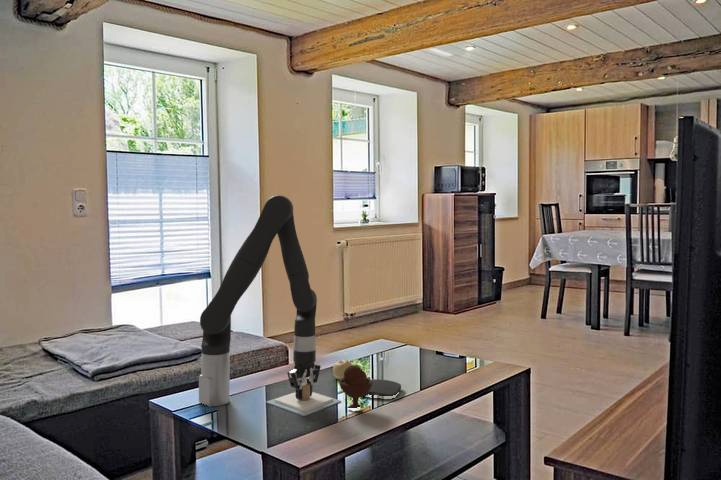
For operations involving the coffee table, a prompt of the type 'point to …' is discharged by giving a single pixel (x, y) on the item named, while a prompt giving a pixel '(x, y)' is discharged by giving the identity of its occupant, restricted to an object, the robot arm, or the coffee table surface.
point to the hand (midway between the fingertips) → (304, 397)
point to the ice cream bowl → (355, 384)
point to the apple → (340, 368)
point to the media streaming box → (384, 388)
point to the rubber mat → (302, 411)
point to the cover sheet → (303, 404)
